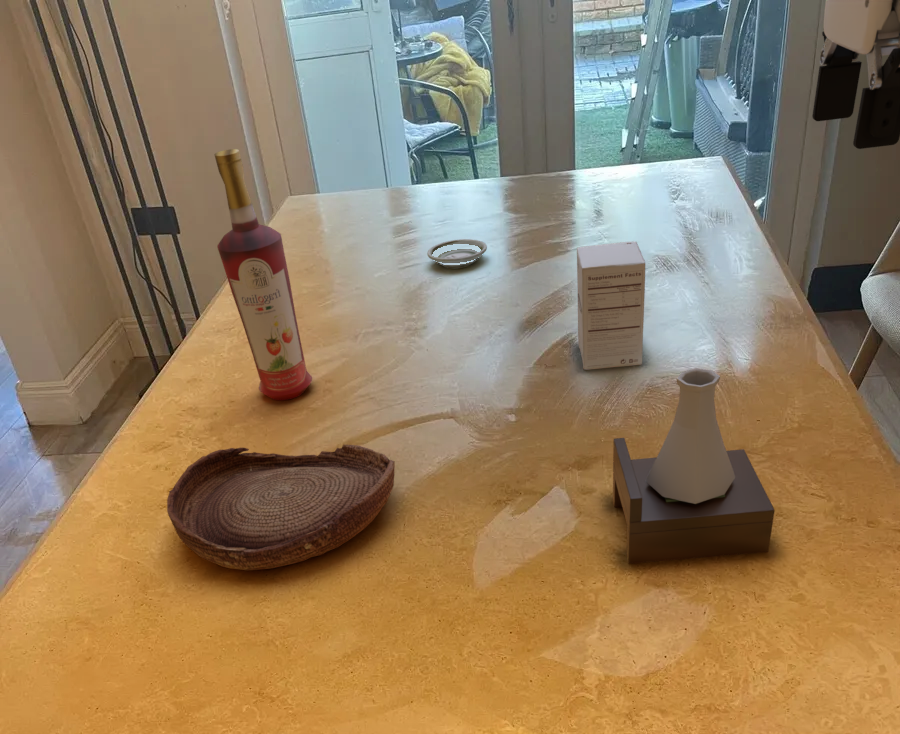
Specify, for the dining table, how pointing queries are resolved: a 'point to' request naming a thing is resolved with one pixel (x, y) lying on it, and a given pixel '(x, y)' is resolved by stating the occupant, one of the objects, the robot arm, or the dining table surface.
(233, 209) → the liquor
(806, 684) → the dining table surface
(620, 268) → the white packaging box
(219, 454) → the basket
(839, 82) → the robot arm
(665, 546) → the brown toy bed
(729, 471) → the flask
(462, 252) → the saucer
